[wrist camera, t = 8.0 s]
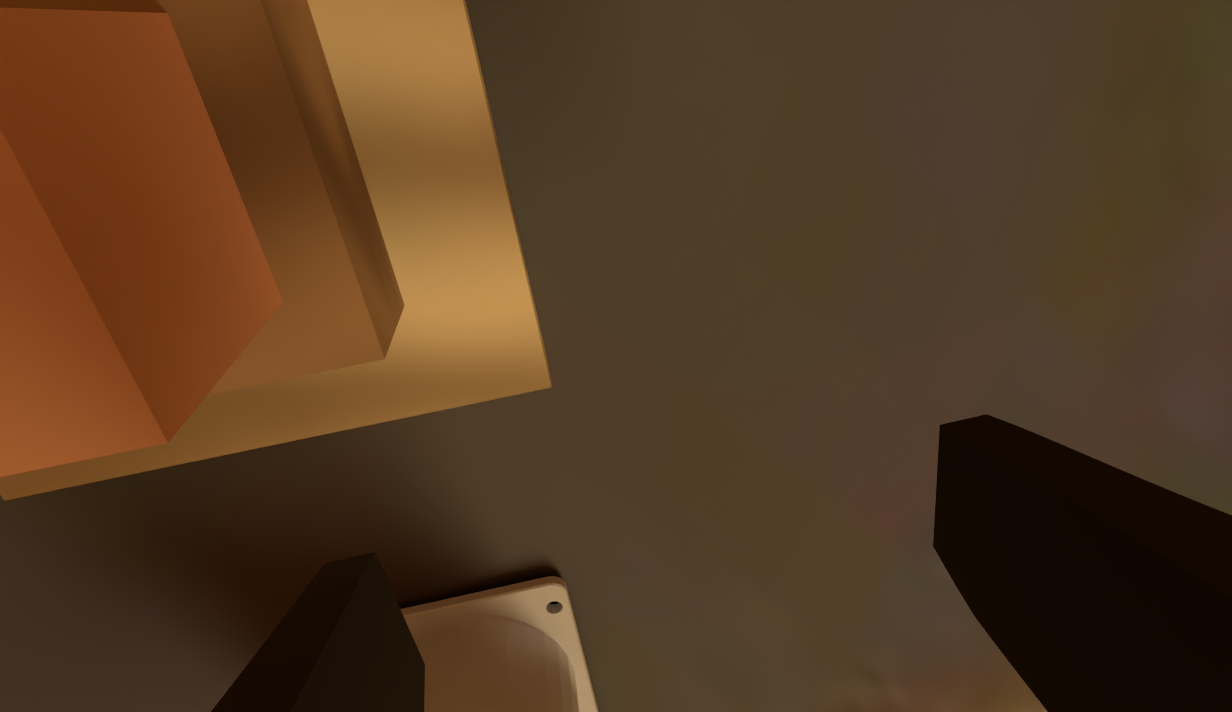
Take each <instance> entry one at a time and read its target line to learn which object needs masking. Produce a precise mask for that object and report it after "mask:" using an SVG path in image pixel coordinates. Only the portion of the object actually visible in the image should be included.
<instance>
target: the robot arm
mask: <svg viewBox="0 0 1232 712" xmlns="http://www.w3.org/2000/svg"><path fill="white" fill-rule="evenodd" d="M933 547H934V548H935V550H936V552H937V554H938V555H939V557H940V559H941V561H942V562H943V564H944V566H945V568H946V569H947V571H948V573H949V574H950V576H951V578H952V580H953V581H954V583H955V585H956V587H957V588H958V590H959V591H960V593H961V595H962V596H963V598H964V599H965V601H966V603H967V604H968V606H969V608H970V609H971V611H972V612H973V614H974V616H975V617H976V619H977V620H978V621H979V623H980V624H981V625H982V627H983V628H984V629H985V631H986V632H987V633H988V635H989V636H990V637H991V639H992V640H993V641H994V643H995V644H996V645H997V647H998V648H999V649H1000V650H1001V652H1002V653H1003V654H1004V656H1005V657H1006V658H1007V660H1008V661H1009V662H1010V663H1011V665H1012V666H1013V667H1014V669H1015V670H1016V671H1017V673H1018V674H1019V675H1020V677H1021V678H1022V679H1023V680H1024V682H1025V683H1026V684H1027V686H1028V687H1029V688H1030V689H1031V691H1032V692H1033V693H1034V694H1035V696H1036V697H1037V698H1038V700H1039V701H1040V702H1041V703H1042V705H1043V706H1044V707H1045V709H1046V710H1047V711H1048V712H1232V515H1229V514H1227V513H1224V512H1222V511H1219V510H1217V509H1214V508H1211V507H1209V506H1206V505H1204V504H1201V503H1199V502H1197V501H1194V500H1192V499H1189V498H1187V497H1184V496H1182V495H1179V494H1177V493H1175V492H1172V491H1170V490H1167V489H1165V488H1163V487H1160V486H1158V485H1155V484H1153V483H1151V482H1148V481H1146V480H1143V479H1141V478H1139V477H1136V476H1134V475H1132V474H1129V473H1127V472H1124V471H1122V470H1120V469H1117V468H1115V467H1113V466H1110V465H1108V464H1106V463H1103V462H1101V461H1099V460H1096V459H1094V458H1092V457H1089V456H1087V455H1085V454H1082V453H1080V452H1078V451H1075V450H1073V449H1071V448H1068V447H1066V446H1064V445H1061V444H1059V443H1057V442H1054V441H1052V440H1050V439H1047V438H1045V437H1042V436H1040V435H1038V434H1035V433H1033V432H1030V431H1028V430H1026V429H1023V428H1021V427H1018V426H1016V425H1013V424H1011V423H1008V422H1005V421H1003V420H1000V419H997V418H995V417H992V416H989V415H982V416H977V417H973V418H969V419H964V420H960V421H955V422H951V423H946V424H942V425H940V433H939V452H938V470H937V488H936V506H935V524H934V542H933ZM553 601H557V602H559V603H557V604H549V603H550V602H553ZM211 712H599V711H598V707H597V703H596V700H595V696H594V692H593V688H592V684H591V680H590V676H589V672H588V668H587V664H586V661H585V657H584V653H583V649H582V645H581V641H580V637H579V633H578V629H577V626H576V622H575V618H574V614H573V610H572V606H571V602H570V598H569V594H568V590H567V587H566V584H565V582H564V580H562V579H561V578H559V577H555V576H548V577H543V578H539V579H534V580H530V581H525V582H521V583H516V584H512V585H507V586H503V587H498V588H494V589H489V590H485V591H480V592H476V593H471V594H467V595H462V596H458V597H453V598H449V599H444V600H440V601H435V602H431V603H426V604H422V605H417V606H413V607H408V608H404V609H400V607H399V605H398V603H397V600H396V598H395V596H394V594H393V591H392V589H391V587H390V585H389V582H388V580H387V578H386V576H385V573H384V571H383V569H382V567H381V564H380V562H379V560H378V558H377V555H376V553H375V552H374V553H370V554H366V555H361V556H357V557H352V558H348V559H343V560H339V561H334V562H330V563H326V564H325V565H324V566H323V568H322V569H321V570H320V571H319V572H318V574H317V575H316V576H315V577H314V579H313V580H312V581H311V582H310V584H309V585H308V586H307V588H306V589H305V590H304V591H303V593H302V594H301V595H300V597H299V598H298V599H297V601H296V602H295V603H294V605H293V606H292V607H291V608H290V610H289V611H288V612H287V614H286V615H285V616H284V618H283V619H282V620H281V622H280V623H279V624H278V626H277V627H276V628H275V630H274V631H273V632H272V634H271V635H270V636H269V638H268V639H267V640H266V641H265V643H264V644H263V645H262V647H261V648H260V649H259V651H258V652H257V653H256V655H255V656H254V657H253V659H252V660H251V661H250V662H249V664H248V665H247V666H246V668H245V669H244V670H243V671H242V673H241V674H240V675H239V677H238V678H237V679H236V680H235V682H234V683H233V684H232V686H231V687H230V688H229V689H228V691H227V692H226V693H225V695H224V696H223V697H222V698H221V700H220V701H219V702H218V704H217V705H216V706H215V707H214V709H213V710H212V711H211Z"/></svg>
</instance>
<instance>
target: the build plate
mask: <svg viewBox="0 0 1232 712" xmlns="http://www.w3.org/2000/svg"><path fill="white" fill-rule="evenodd" d="M307 2H308V5H309V8H310V11H311V14H312V17H313V20H314V24H315V27H316V30H317V33H318V36H319V39H320V42H321V45H322V49H323V52H324V55H325V58H326V61H327V64H328V67H329V70H330V74H331V77H332V80H333V83H334V86H335V89H336V92H337V95H338V99H339V102H340V105H341V108H342V111H343V114H344V117H345V120H346V124H347V127H348V130H349V133H350V136H351V139H352V142H353V145H354V149H355V152H356V155H357V158H358V161H359V164H360V167H361V170H362V174H363V177H364V180H365V183H366V186H367V189H368V192H369V195H370V199H371V202H372V205H373V208H374V211H375V214H376V217H377V220H378V224H379V227H380V230H381V233H382V236H383V239H384V242H385V246H386V249H387V252H388V255H389V258H390V261H391V264H392V267H393V271H394V274H395V277H396V280H397V283H398V286H399V289H400V292H401V296H402V299H403V302H404V305H405V306H404V309H403V311H402V314H401V317H400V319H399V322H398V325H397V327H396V330H395V333H394V335H393V338H392V341H391V344H390V346H389V349H388V352H387V354H386V357H385V359H383V360H378V361H373V362H368V363H363V364H358V365H353V366H348V367H343V368H338V369H333V370H328V371H323V372H319V373H314V374H309V375H304V376H299V377H294V378H289V379H284V380H279V381H274V382H269V383H264V384H259V385H254V386H249V387H244V388H239V389H235V390H230V391H225V392H220V393H215V394H210V395H207V396H206V397H205V398H204V400H203V401H202V402H201V403H200V405H199V406H198V407H197V408H196V409H195V411H194V412H193V413H192V414H191V416H190V417H189V418H188V419H187V421H186V422H185V423H184V424H183V425H182V427H181V428H180V429H179V430H178V432H177V433H176V434H175V435H174V436H173V438H172V439H171V440H170V441H169V443H167V444H162V445H157V446H152V447H147V448H142V449H137V450H132V451H127V452H122V453H117V454H112V455H107V456H102V457H97V458H92V459H87V460H82V461H77V462H72V463H67V464H62V465H58V466H53V467H48V468H43V469H38V470H33V471H28V472H23V473H18V474H13V475H8V476H3V477H0V495H1V496H2V498H3V499H4V501H5V500H10V499H15V498H20V497H25V496H30V495H34V494H39V493H44V492H49V491H54V490H58V489H63V488H68V487H73V486H78V485H83V484H87V483H92V482H97V481H102V480H107V479H112V478H116V477H121V476H126V475H131V474H136V473H140V472H145V471H150V470H155V469H160V468H165V467H169V466H174V465H179V464H184V463H189V462H194V461H198V460H203V459H208V458H213V457H218V456H222V455H227V454H232V453H237V452H242V451H247V450H251V449H256V448H261V447H266V446H271V445H276V444H280V443H285V442H290V441H295V440H300V439H305V438H309V437H314V436H319V435H324V434H329V433H333V432H338V431H343V430H348V429H353V428H358V427H362V426H367V425H372V424H377V423H382V422H387V421H391V420H396V419H401V418H406V417H411V416H415V415H420V414H425V413H430V412H435V411H440V410H444V409H449V408H454V407H459V406H464V405H469V404H473V403H478V402H483V401H488V400H493V399H497V398H502V397H507V396H512V395H517V394H522V393H526V392H531V391H536V390H541V389H546V388H551V387H552V386H551V377H550V370H549V365H548V361H547V356H546V352H545V348H544V343H543V339H542V334H541V330H540V326H539V321H538V317H537V313H536V308H535V304H534V299H533V295H532V291H531V286H530V282H529V277H528V273H527V269H526V264H525V260H524V256H523V251H522V247H521V242H520V238H519V234H518V229H517V225H516V221H515V216H514V212H513V207H512V203H511V199H510V194H509V190H508V185H507V181H506V177H505V172H504V168H503V164H502V159H501V155H500V150H499V146H498V142H497V137H496V133H495V128H494V124H493V120H492V115H491V111H490V107H489V102H488V98H487V93H486V89H485V85H484V80H483V76H482V71H481V67H480V63H479V58H478V54H477V50H476V45H475V41H474V36H473V32H472V28H471V23H470V19H469V15H468V10H467V6H466V1H465V0H307Z"/></svg>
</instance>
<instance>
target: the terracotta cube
mask: <svg viewBox="0 0 1232 712" xmlns="http://www.w3.org/2000/svg"><path fill="white" fill-rule="evenodd" d="M282 303H283V300H282V298H281V295H280V293H279V290H278V288H277V285H276V283H275V280H274V278H273V275H272V273H271V270H270V268H269V265H268V263H267V260H266V258H265V255H264V253H263V250H262V248H261V245H260V243H259V240H258V238H257V235H256V233H255V230H254V228H253V225H252V223H251V220H250V218H249V215H248V213H247V210H246V208H245V205H244V203H243V200H242V198H241V195H240V193H239V190H238V188H237V185H236V183H235V180H234V178H233V175H232V173H231V170H230V168H229V165H228V163H227V160H226V158H225V155H224V153H223V150H222V148H221V145H220V143H219V140H218V138H217V135H216V133H215V130H214V128H213V125H212V123H211V120H210V118H209V115H208V113H207V110H206V108H205V105H204V103H203V100H202V98H201V95H200V93H199V90H198V88H197V85H196V83H195V80H194V78H193V75H192V73H191V70H190V68H189V65H188V63H187V60H186V58H185V55H184V53H183V50H182V48H181V45H180V43H179V40H178V38H177V35H176V33H175V30H174V28H173V25H172V23H171V20H170V18H169V15H168V13H148V12H118V11H88V10H58V9H28V8H0V477H3V476H8V475H13V474H18V473H23V472H28V471H33V470H38V469H43V468H48V467H53V466H58V465H62V464H67V463H72V462H77V461H82V460H87V459H92V458H97V457H102V456H107V455H112V454H117V453H122V452H127V451H132V450H137V449H142V448H147V447H152V446H157V445H162V444H167V443H169V441H170V440H171V439H172V438H173V436H174V435H175V434H176V433H177V432H178V430H179V429H180V428H181V427H182V425H183V424H184V423H185V422H186V421H187V419H188V418H189V417H190V416H191V414H192V413H193V412H194V411H195V409H196V408H197V407H198V406H199V405H200V403H201V402H202V401H203V400H204V398H205V397H206V396H207V395H208V393H209V392H210V391H211V390H212V389H213V387H214V386H215V385H216V384H217V382H218V381H219V380H220V379H221V378H222V376H223V375H224V374H225V373H226V371H227V370H228V369H229V368H230V366H231V365H232V364H233V363H234V362H235V360H236V359H237V358H238V357H239V355H240V354H241V353H242V352H243V350H244V349H245V348H246V347H247V346H248V344H249V343H250V342H251V341H252V339H253V338H254V337H255V336H256V334H257V333H258V332H259V331H260V330H261V328H262V327H263V326H264V325H265V323H266V322H267V321H268V320H269V319H270V317H271V316H272V315H273V314H274V312H275V311H276V310H277V309H278V307H279V306H280V305H281V304H282Z"/></svg>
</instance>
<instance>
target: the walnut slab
mask: <svg viewBox="0 0 1232 712" xmlns="http://www.w3.org/2000/svg"><path fill="white" fill-rule="evenodd" d="M0 8H28V9H58V10H88V11H118V12H148V13H168V15H169V18H170V20H171V23H172V25H173V28H174V30H175V33H176V35H177V38H178V40H179V43H180V45H181V48H182V50H183V53H184V55H185V58H186V60H187V63H188V65H189V68H190V70H191V73H192V75H193V78H194V80H195V83H196V85H197V88H198V90H199V93H200V95H201V98H202V100H203V103H204V105H205V108H206V110H207V113H208V115H209V118H210V120H211V123H212V125H213V128H214V130H215V133H216V135H217V138H218V140H219V143H220V145H221V148H222V150H223V153H224V155H225V158H226V160H227V163H228V165H229V168H230V170H231V173H232V175H233V178H234V180H235V183H236V185H237V188H238V190H239V193H240V195H241V198H242V200H243V203H244V205H245V208H246V210H247V213H248V215H249V218H250V220H251V223H252V225H253V228H254V230H255V233H256V235H257V238H258V240H259V243H260V245H261V248H262V250H263V253H264V255H265V258H266V260H267V263H268V265H269V268H270V270H271V273H272V275H273V278H274V280H275V283H276V285H277V288H278V290H279V293H280V295H281V298H282V300H283V303H282V304H281V305H280V306H279V307H278V309H277V310H276V311H275V312H274V314H273V315H272V316H271V317H270V319H269V320H268V321H267V322H266V323H265V325H264V326H263V327H262V328H261V330H260V331H259V332H258V333H257V334H256V336H255V337H254V338H253V339H252V341H251V342H250V343H249V344H248V346H247V347H246V348H245V349H244V350H243V352H242V353H241V354H240V355H239V357H238V358H237V359H236V360H235V362H234V363H233V364H232V365H231V366H230V368H229V369H228V370H227V371H226V373H225V374H224V375H223V376H222V378H221V379H220V380H219V381H218V382H217V384H216V385H215V386H214V387H213V389H212V390H211V391H210V392H209V393H208V395H210V394H215V393H220V392H225V391H230V390H235V389H239V388H244V387H249V386H254V385H259V384H264V383H269V382H274V381H279V380H284V379H289V378H294V377H299V376H304V375H309V374H314V373H319V372H323V371H328V370H333V369H338V368H343V367H348V366H353V365H358V364H363V363H368V362H373V361H378V360H383V359H385V357H386V354H387V352H388V349H389V346H390V344H391V341H392V338H393V335H394V333H395V330H396V327H397V325H398V322H399V319H400V317H401V314H402V311H403V309H404V306H405V305H404V302H403V299H402V296H401V292H400V289H399V286H398V283H397V280H396V277H395V274H394V271H393V267H392V264H391V261H390V258H389V255H388V252H387V249H386V246H385V242H384V239H383V236H382V233H381V230H380V227H379V224H378V220H377V217H376V214H375V211H374V208H373V205H372V202H371V199H370V195H369V192H368V189H367V186H366V183H365V180H364V177H363V174H362V170H361V167H360V164H359V161H358V158H357V155H356V152H355V149H354V145H353V142H352V139H351V136H350V133H349V130H348V127H347V124H346V120H345V117H344V114H343V111H342V108H341V105H340V102H339V99H338V95H337V92H336V89H335V86H334V83H333V80H332V77H331V74H330V70H329V67H328V64H327V61H326V58H325V55H324V52H323V49H322V45H321V42H320V39H319V36H318V33H317V30H316V27H315V24H314V20H313V17H312V14H311V11H310V8H309V5H308V2H307V0H0Z"/></svg>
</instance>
